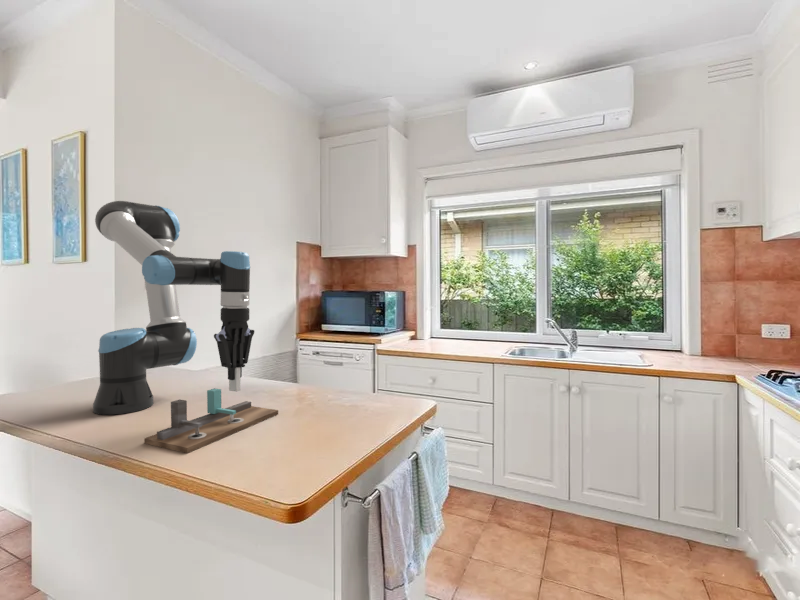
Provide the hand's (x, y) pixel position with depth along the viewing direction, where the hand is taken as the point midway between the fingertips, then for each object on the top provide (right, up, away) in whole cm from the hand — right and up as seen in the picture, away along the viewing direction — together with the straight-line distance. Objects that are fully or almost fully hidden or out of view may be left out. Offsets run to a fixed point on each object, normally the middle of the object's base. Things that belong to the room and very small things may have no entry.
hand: (234, 390), depth 117 cm
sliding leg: (0, -6, -8) cm, 10 cm away
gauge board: (0, -8, -10) cm, 12 cm away
